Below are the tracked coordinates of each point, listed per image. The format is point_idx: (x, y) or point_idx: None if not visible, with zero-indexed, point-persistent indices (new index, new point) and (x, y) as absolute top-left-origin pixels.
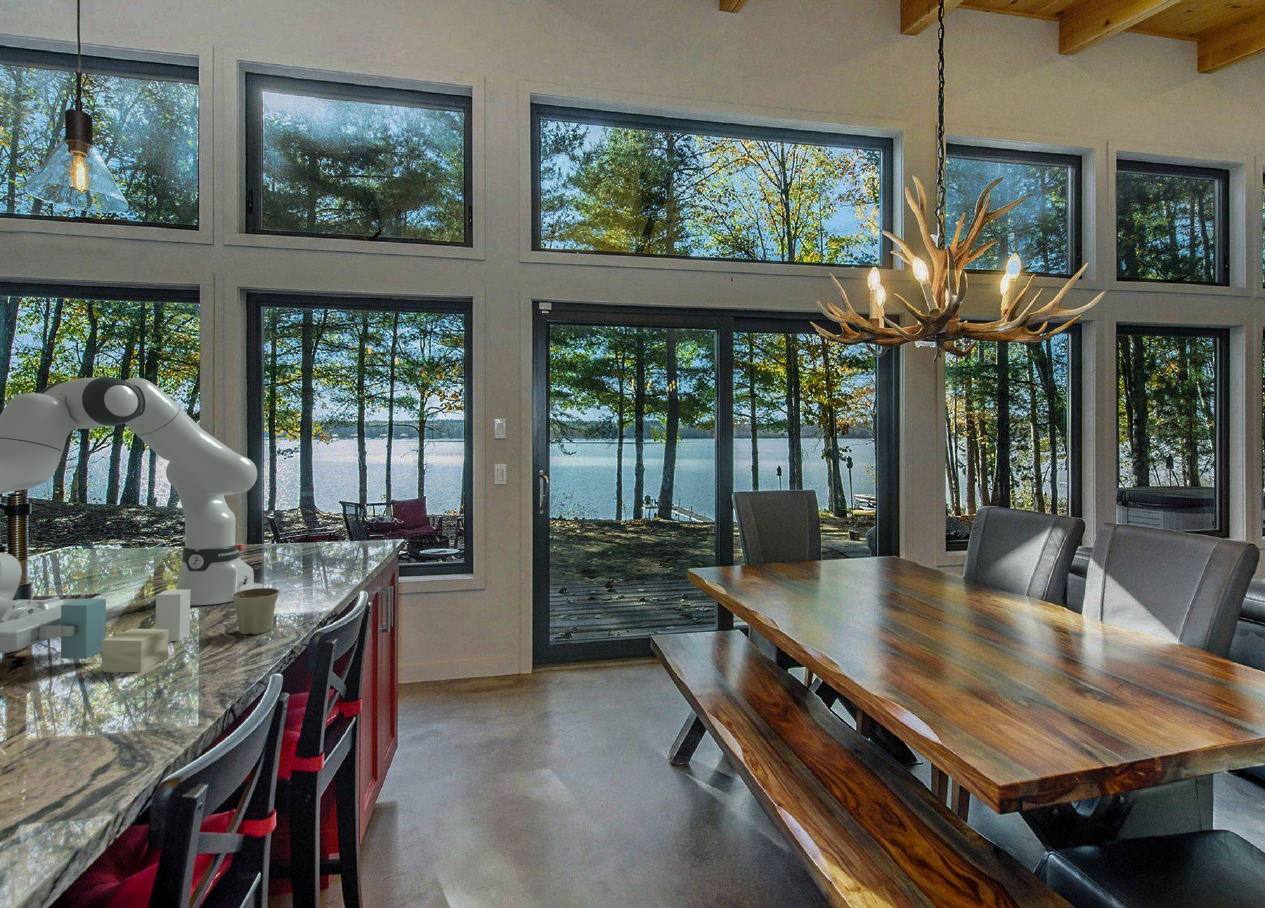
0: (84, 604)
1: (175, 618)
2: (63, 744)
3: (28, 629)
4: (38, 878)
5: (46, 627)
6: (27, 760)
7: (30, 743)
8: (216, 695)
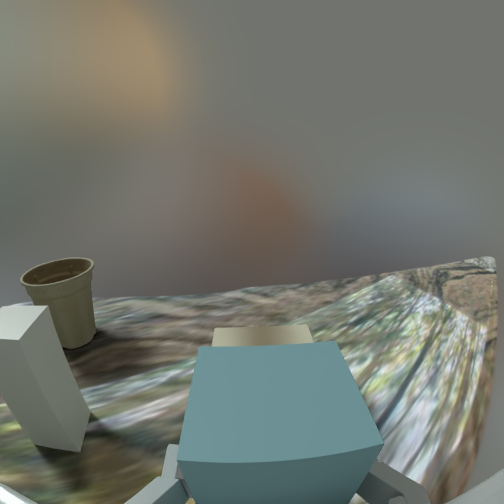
0: (325, 355)
1: (67, 373)
2: (467, 306)
3: (488, 478)
4: (488, 257)
5: (422, 489)
6: (489, 304)
7: (485, 320)
8: (342, 288)
